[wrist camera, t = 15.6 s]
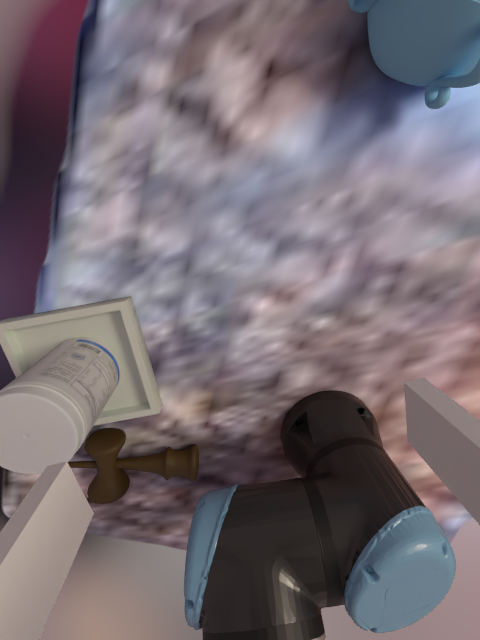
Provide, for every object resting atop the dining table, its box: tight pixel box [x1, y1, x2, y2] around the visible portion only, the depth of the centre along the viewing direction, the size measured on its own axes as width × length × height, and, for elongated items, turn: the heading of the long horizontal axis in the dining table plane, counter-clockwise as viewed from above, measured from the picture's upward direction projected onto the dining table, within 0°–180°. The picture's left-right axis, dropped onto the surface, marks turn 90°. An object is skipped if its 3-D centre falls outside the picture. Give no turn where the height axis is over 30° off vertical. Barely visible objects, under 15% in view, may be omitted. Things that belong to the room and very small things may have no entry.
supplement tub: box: [0, 337, 121, 474], centre depth 35 cm, size 10×10×15 cm
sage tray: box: [0, 296, 163, 426], centre depth 42 cm, size 17×17×2 cm
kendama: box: [68, 428, 199, 504], centre depth 46 cm, size 6×10×20 cm
